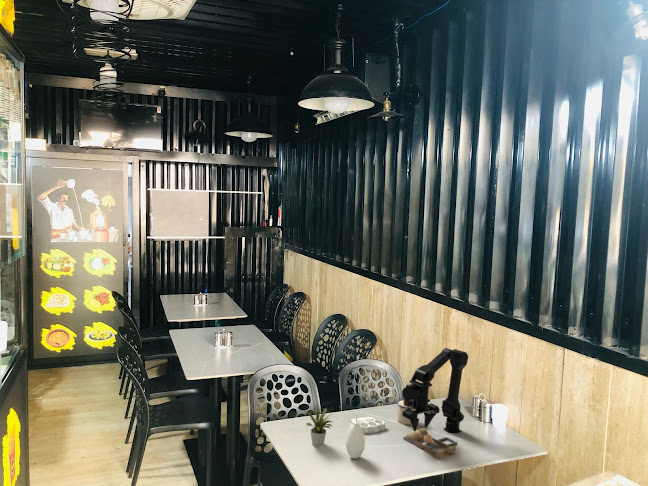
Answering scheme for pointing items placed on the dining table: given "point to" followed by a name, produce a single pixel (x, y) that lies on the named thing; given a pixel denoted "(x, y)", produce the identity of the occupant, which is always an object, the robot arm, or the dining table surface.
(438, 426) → the dining table surface
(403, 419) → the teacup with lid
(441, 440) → the grey square frame
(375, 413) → the dining table surface
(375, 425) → the white paint palette
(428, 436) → the ball
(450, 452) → the walnut lane
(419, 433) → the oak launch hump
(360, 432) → the white vase
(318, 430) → the house plant
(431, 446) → the runway mat
